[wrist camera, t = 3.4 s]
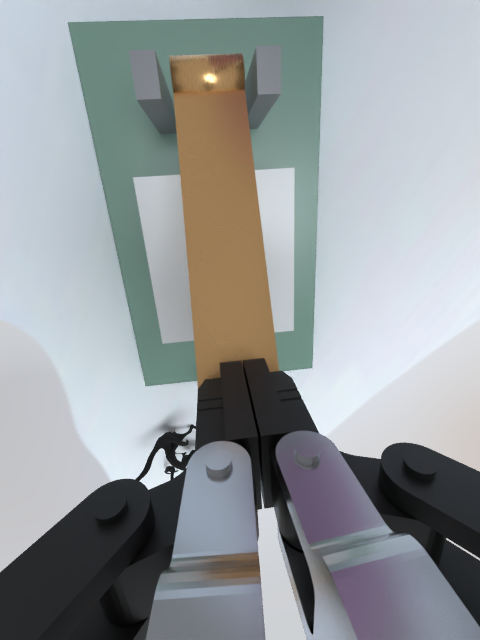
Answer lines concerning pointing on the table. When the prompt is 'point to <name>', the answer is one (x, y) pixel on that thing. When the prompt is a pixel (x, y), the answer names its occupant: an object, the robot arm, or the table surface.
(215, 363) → the strap
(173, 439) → the creature
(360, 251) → the table surface
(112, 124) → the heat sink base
